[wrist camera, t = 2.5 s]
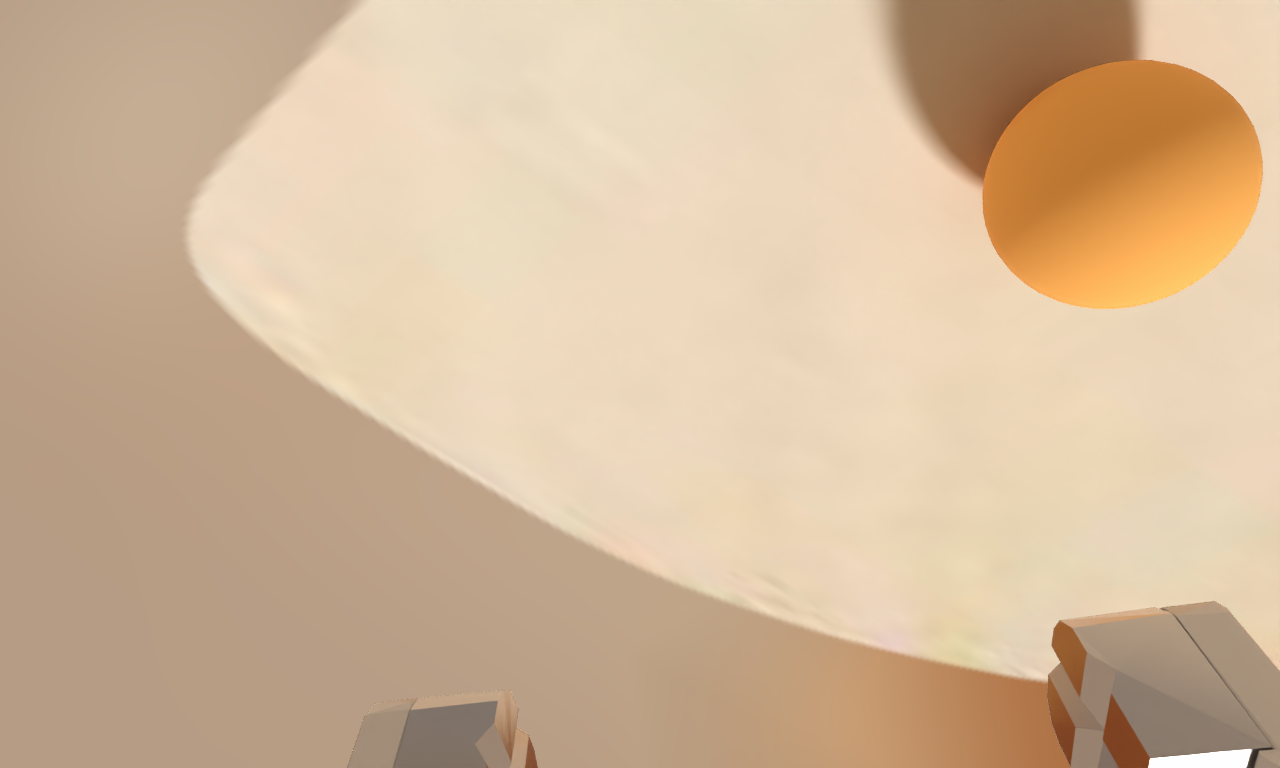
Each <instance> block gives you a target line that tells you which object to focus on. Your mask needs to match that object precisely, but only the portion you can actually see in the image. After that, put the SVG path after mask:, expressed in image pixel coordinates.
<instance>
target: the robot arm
mask: <svg viewBox="0 0 1280 768" xmlns="http://www.w3.org/2000/svg"><path fill="white" fill-rule="evenodd" d="M1052 647H1053V649H1054V651H1055V653H1056V655H1057V657H1058V658H1059V660H1060V662H1061V663H1060V664H1059V665H1058V666H1057V667H1056V668H1055V669H1054V670H1053V671H1052V672H1051V673H1050V674H1048V689H1047V699H1048V705H1049V710H1050V716H1051V721H1052V725H1053V728H1054V730H1055V733H1056V736H1057V739H1058V741H1059V744H1060V746H1061V748H1062V750H1063V752H1064V755H1065V757H1066V759H1067V761H1068V763H1069V765H1070V767H1071V768H1280V671H1279V669H1278V668H1277V667H1276V666H1275V665H1274V663H1273V662H1272V661H1271V660H1270V659H1269V657H1268V656H1267V655H1266V654H1265V653H1264V652H1263V650H1262V649H1261V648H1260V647H1259V646H1258V644H1257V643H1256V642H1255V641H1254V640H1253V638H1252V637H1251V636H1250V635H1249V634H1248V633H1247V631H1246V630H1245V629H1244V628H1243V627H1242V625H1241V624H1240V623H1239V622H1238V621H1237V619H1236V618H1235V617H1234V616H1233V615H1232V614H1231V612H1230V611H1229V610H1228V609H1227V608H1226V607H1224V606H1222V605H1221V604H1219V603H1217V602H1215V601H1212V602H1204V603H1196V604H1187V605H1179V606H1171V607H1163V608H1160V609H1158V608H1147V609H1140V610H1133V611H1125V612H1118V613H1111V614H1103V615H1096V616H1088V617H1081V618H1074V619H1066V620H1060V621H1059V622H1058V623H1057V625H1056V626H1055V628H1054V631H1053V639H1052ZM518 712H519V708H518V706H517V704H516V702H515V699H514V697H513V695H512V693H511V690H500V691H499V690H498V691H488V692H477V693H467V694H457V695H445V696H435V697H424V698H416V699H407V700H398V701H389V702H380V703H374V705H373V706H372V708H371V709H370V710H369V711H368V713H367V714H366V715H365V717H364V719H363V722H362V725H361V728H360V731H359V734H358V737H357V739H356V742H355V746H354V748H353V751H352V754H351V757H350V760H349V763H348V766H347V768H538V766H537V761H536V756H535V751H534V748H533V745H532V742H531V739H530V737H529V735H528V734H526V733H524V732H523V731H521V730H520V729H518V728H517V727H516V726H517V719H518Z"/></svg>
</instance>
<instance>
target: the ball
mask: <svg viewBox="0 0 1280 768" xmlns="http://www.w3.org/2000/svg"><path fill="white" fill-rule="evenodd" d="M1262 175H1263V161H1262V155H1261V149H1260V145H1259V141H1258V137H1257V135H1256V132H1255V129H1254V126H1253V125H1252V123H1251V121H1250V119H1249V118H1248V116H1247V114H1246V113H1245V111H1244V110H1243V108H1242V107H1241V105H1240V104H1239V103H1238V102H1237V101H1236V100H1235V98H1234V97H1233V96H1232V95H1231V94H1229V93H1228V92H1227V91H1226V90H1225V89H1223V88H1222V87H1221V86H1220V85H1218V84H1217V83H1216V82H1215V81H1213V80H1211V79H1209V78H1208V77H1206V76H1204V75H1202V74H1200V73H1198V72H1196V71H1194V70H1191V69H1188V68H1185V67H1182V66H1179V65H1176V64H1170V63H1165V62H1159V61H1153V60H1128V61H1119V62H1110V63H1106V64H1102V65H1098V66H1094V67H1091V68H1088V69H1085V70H1083V71H1080V72H1077V73H1075V74H1072V75H1070V76H1068V77H1066V78H1064V79H1062V80H1060V81H1058V82H1056V83H1055V84H1053V85H1051V86H1050V87H1048V88H1047V89H1045V90H1044V91H1042V92H1041V93H1040V94H1039V95H1037V96H1036V97H1035V98H1034V99H1032V100H1031V101H1030V102H1029V103H1028V104H1027V105H1026V106H1025V107H1024V108H1023V109H1022V110H1021V111H1020V112H1019V113H1018V114H1017V115H1016V116H1015V117H1014V119H1013V120H1012V121H1011V122H1010V124H1009V125H1008V126H1007V128H1006V129H1005V131H1004V132H1003V134H1002V135H1001V137H1000V138H999V140H998V142H997V144H996V146H995V148H994V150H993V152H992V155H991V157H990V160H989V163H988V166H987V169H986V173H985V178H984V184H983V214H984V220H985V225H986V228H987V231H988V234H989V237H990V239H991V242H992V244H993V246H994V248H995V250H996V252H997V253H998V255H999V256H1000V258H1001V259H1002V260H1003V262H1004V263H1005V264H1006V265H1007V267H1008V268H1009V269H1010V271H1011V272H1012V273H1014V274H1015V275H1016V276H1017V277H1018V278H1019V279H1020V280H1021V281H1023V282H1024V283H1025V284H1027V285H1028V286H1029V287H1031V288H1033V289H1034V290H1036V291H1037V292H1039V293H1041V294H1043V295H1046V296H1048V297H1050V298H1052V299H1055V300H1057V301H1060V302H1063V303H1067V304H1070V305H1075V306H1080V307H1086V308H1093V309H1117V308H1127V307H1133V306H1138V305H1143V304H1147V303H1150V302H1153V301H1157V300H1160V299H1163V298H1166V297H1168V296H1170V295H1173V294H1175V293H1177V292H1179V291H1181V290H1183V289H1185V288H1187V287H1189V286H1190V285H1192V284H1193V283H1195V282H1196V281H1198V280H1199V279H1201V278H1202V277H1204V276H1205V275H1206V274H1208V273H1209V272H1210V271H1211V270H1213V269H1214V268H1215V267H1216V266H1217V265H1218V264H1219V263H1220V262H1221V261H1222V260H1223V259H1224V258H1225V257H1226V256H1227V255H1228V254H1229V253H1230V251H1231V250H1232V249H1233V248H1234V247H1235V246H1236V244H1237V243H1238V241H1239V240H1240V238H1241V237H1242V236H1243V234H1244V232H1245V231H1246V229H1247V227H1248V225H1249V223H1250V222H1251V219H1252V217H1253V214H1254V212H1255V210H1256V207H1257V203H1258V200H1259V196H1260V190H1261V183H1262Z"/></svg>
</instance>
